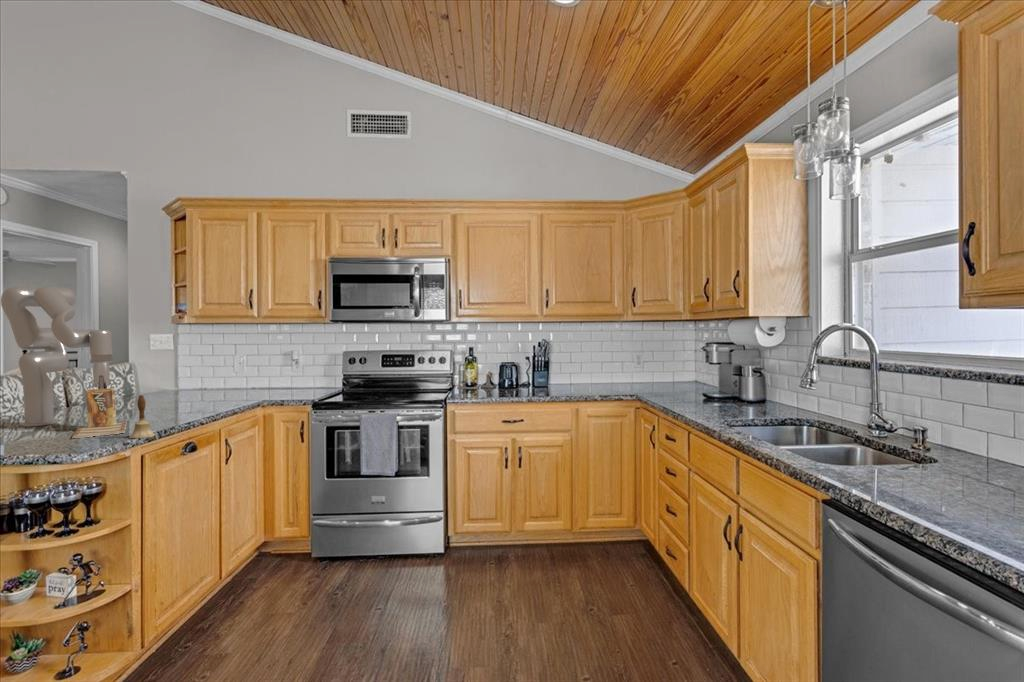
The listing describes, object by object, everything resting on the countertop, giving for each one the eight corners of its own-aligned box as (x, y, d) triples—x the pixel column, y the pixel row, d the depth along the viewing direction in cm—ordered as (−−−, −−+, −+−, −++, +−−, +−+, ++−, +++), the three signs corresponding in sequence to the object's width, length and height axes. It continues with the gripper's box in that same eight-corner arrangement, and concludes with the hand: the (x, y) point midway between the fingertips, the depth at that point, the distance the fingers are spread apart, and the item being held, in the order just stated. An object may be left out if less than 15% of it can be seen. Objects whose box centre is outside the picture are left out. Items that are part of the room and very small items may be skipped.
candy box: (116, 424, 228) (115, 387, 228) (114, 425, 224) (112, 389, 224) (90, 426, 225) (89, 389, 224) (87, 427, 221) (85, 390, 220)
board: (79, 429, 224) (79, 426, 223) (127, 425, 232) (126, 421, 232) (72, 439, 205) (72, 435, 205) (124, 433, 214) (124, 430, 214)
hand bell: (160, 434, 213) (158, 393, 212) (146, 438, 205) (144, 396, 204) (138, 434, 213) (137, 393, 212) (124, 439, 205) (122, 397, 204)
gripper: (91, 358, 233) (93, 401, 234) (88, 360, 221) (90, 405, 222) (113, 357, 237) (115, 399, 238) (111, 359, 225) (113, 403, 226)
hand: (103, 402), depth 230 cm, fingers closed
